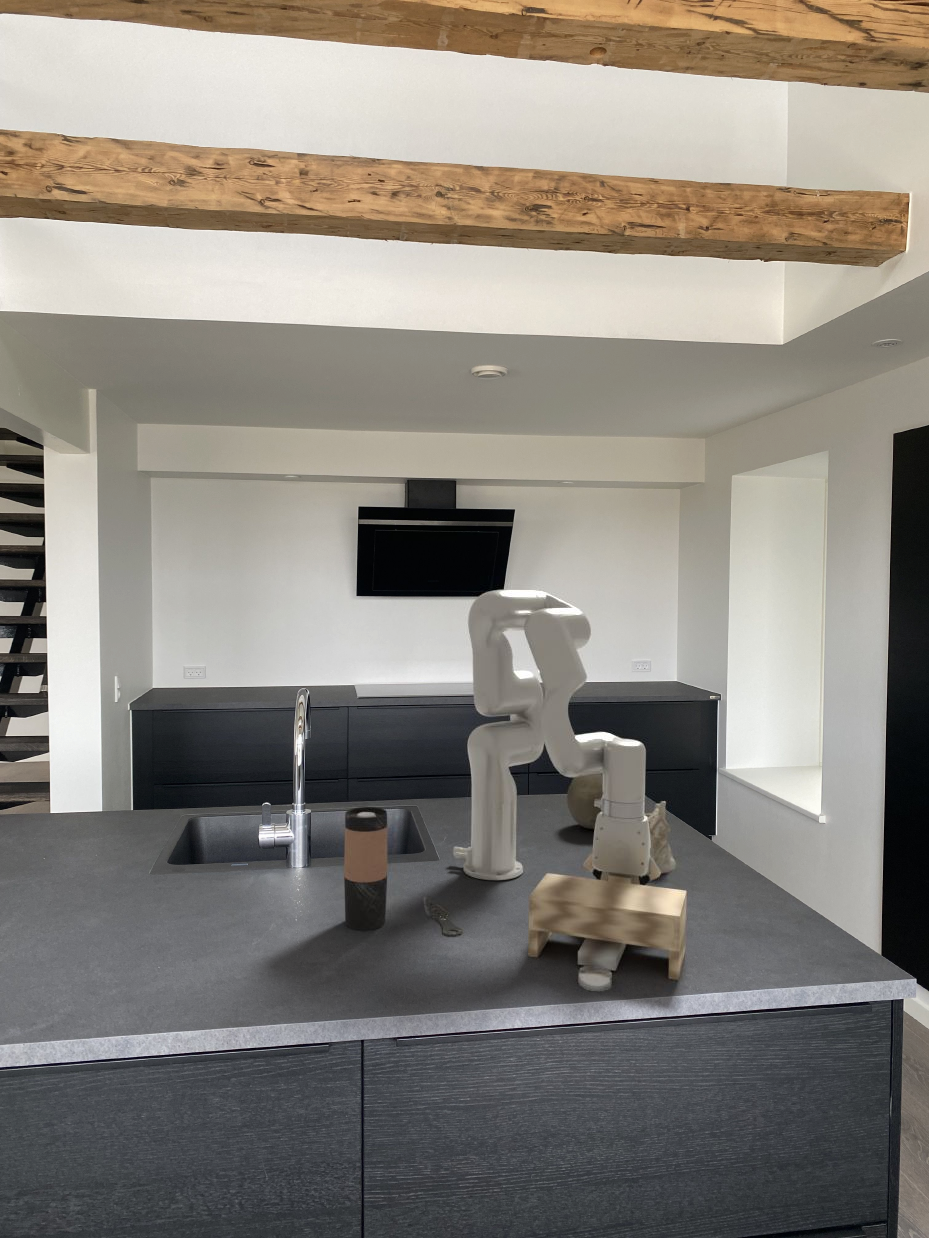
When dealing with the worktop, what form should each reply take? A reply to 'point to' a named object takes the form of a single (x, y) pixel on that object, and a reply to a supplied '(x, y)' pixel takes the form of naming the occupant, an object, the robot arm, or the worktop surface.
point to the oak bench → (609, 914)
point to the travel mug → (365, 868)
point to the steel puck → (595, 978)
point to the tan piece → (603, 941)
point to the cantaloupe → (585, 798)
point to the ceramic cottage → (660, 839)
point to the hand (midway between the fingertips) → (620, 906)
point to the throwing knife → (440, 912)
